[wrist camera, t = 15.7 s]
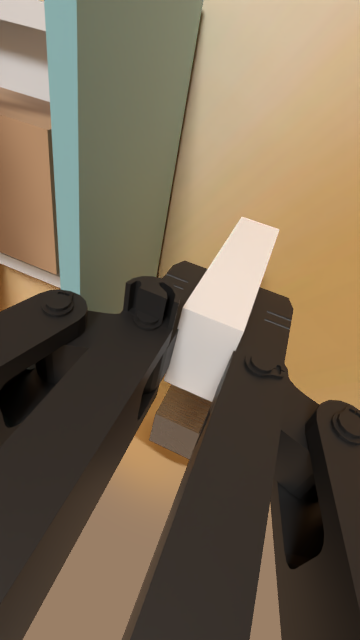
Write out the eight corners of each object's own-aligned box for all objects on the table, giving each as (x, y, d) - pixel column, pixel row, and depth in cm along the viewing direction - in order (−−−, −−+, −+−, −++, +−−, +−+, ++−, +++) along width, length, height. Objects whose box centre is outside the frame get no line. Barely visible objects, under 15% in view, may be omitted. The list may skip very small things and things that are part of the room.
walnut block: (108, 119, 14) (47, 130, 11) (103, 242, 18) (56, 274, 15) (-22, 80, 15) (-109, 79, 12) (-1, 203, 19) (-63, 226, 16)
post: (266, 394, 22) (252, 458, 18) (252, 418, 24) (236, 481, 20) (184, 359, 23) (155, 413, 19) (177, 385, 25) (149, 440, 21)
